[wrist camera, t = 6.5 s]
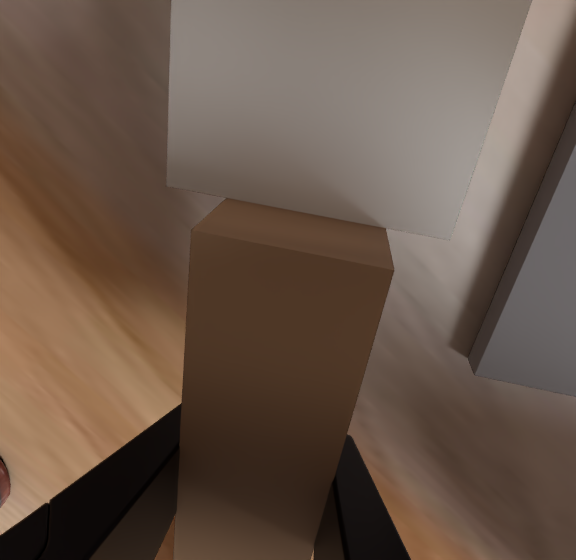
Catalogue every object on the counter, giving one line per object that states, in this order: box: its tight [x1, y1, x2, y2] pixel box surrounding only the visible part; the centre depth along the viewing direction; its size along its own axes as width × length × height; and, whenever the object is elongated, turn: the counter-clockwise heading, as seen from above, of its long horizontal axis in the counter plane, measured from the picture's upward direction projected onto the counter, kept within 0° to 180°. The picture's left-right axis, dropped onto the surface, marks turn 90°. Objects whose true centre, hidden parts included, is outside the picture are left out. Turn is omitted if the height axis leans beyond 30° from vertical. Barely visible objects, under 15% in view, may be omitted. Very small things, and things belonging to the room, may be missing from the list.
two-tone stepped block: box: [166, 0, 532, 560], centre depth 8 cm, size 17×5×3 cm, turn 171°
